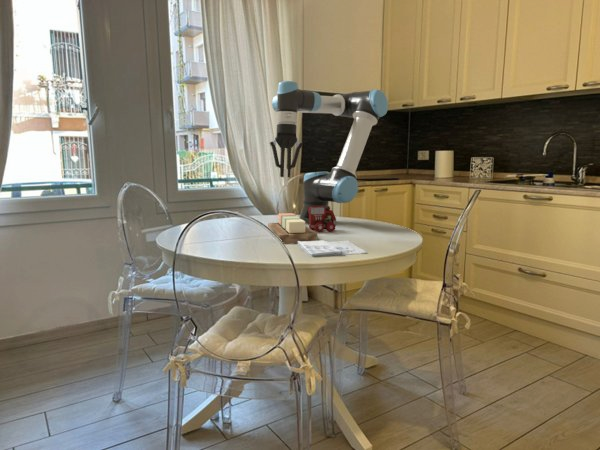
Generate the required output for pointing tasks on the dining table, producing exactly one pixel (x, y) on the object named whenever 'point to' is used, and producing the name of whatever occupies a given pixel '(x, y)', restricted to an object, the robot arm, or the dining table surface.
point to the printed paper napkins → (330, 248)
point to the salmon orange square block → (283, 215)
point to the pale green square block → (287, 219)
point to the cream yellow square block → (295, 226)
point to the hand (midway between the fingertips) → (284, 185)
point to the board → (292, 234)
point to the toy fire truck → (321, 219)
